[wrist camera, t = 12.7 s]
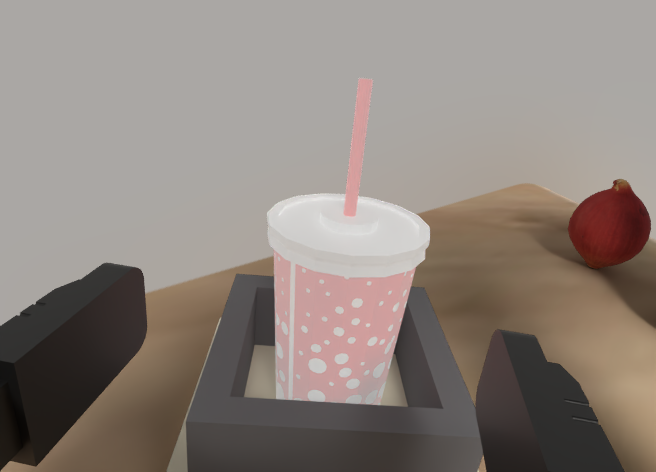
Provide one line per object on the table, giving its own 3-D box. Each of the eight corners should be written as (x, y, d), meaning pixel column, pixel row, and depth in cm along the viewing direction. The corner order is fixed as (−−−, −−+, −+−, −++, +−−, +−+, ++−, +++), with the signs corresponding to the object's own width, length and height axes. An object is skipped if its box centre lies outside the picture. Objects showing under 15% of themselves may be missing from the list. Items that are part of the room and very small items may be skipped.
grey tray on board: (424, 345, 27) (438, 279, 25) (497, 558, 16) (532, 466, 14) (220, 332, 26) (220, 263, 24) (149, 544, 15) (140, 446, 13)
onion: (601, 253, 43) (631, 171, 40) (648, 284, 38) (687, 192, 35) (545, 252, 42) (571, 167, 39) (584, 283, 37) (619, 188, 34)
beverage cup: (421, 410, 21) (495, 91, 15) (325, 490, 17) (378, 93, 11) (327, 344, 25) (358, 70, 19) (231, 396, 20) (234, 65, 15)
